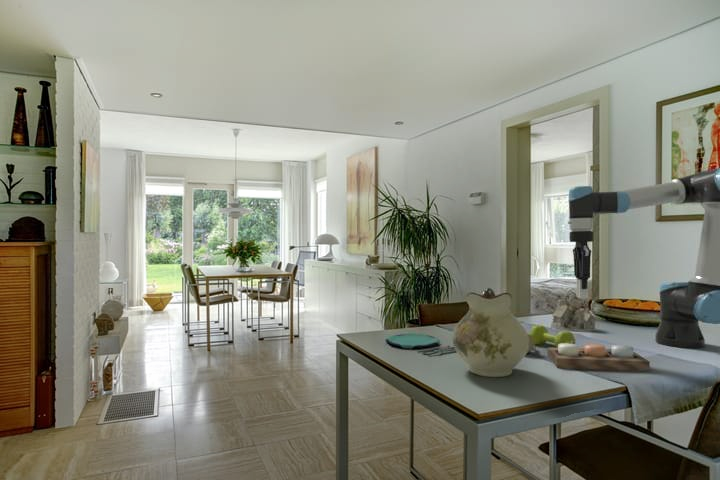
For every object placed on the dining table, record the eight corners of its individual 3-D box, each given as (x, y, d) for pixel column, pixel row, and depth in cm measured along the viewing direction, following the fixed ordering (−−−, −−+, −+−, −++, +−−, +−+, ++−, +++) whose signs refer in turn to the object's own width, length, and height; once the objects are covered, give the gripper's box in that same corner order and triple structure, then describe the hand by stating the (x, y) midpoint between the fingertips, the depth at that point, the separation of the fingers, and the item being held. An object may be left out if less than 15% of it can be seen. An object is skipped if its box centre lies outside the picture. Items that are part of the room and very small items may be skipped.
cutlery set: (418, 336, 187) (418, 330, 187) (466, 352, 161) (466, 346, 161) (378, 342, 178) (378, 336, 178) (421, 360, 151) (421, 354, 151)
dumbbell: (577, 351, 157) (577, 331, 157) (560, 354, 154) (560, 333, 154) (543, 342, 173) (543, 323, 173) (527, 344, 170) (526, 325, 170)
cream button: (575, 355, 146) (575, 343, 146) (581, 360, 140) (580, 347, 140) (556, 355, 147) (556, 343, 147) (560, 359, 141) (560, 347, 141)
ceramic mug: (519, 355, 153) (519, 333, 153) (502, 350, 160) (502, 329, 161) (542, 352, 158) (542, 330, 158) (524, 347, 165) (524, 326, 165)
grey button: (629, 357, 143) (628, 345, 143) (636, 362, 137) (636, 349, 137) (608, 356, 144) (608, 344, 144) (615, 361, 138) (615, 349, 138)
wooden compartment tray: (631, 359, 146) (630, 350, 146) (649, 371, 133) (649, 361, 133) (547, 356, 152) (547, 347, 152) (557, 367, 138) (557, 358, 138)
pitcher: (484, 386, 121) (483, 295, 121) (436, 365, 142) (436, 288, 143) (546, 376, 130) (545, 291, 130) (492, 358, 151) (491, 285, 152)
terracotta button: (602, 356, 144) (601, 344, 144) (608, 361, 139) (608, 348, 139) (582, 355, 146) (582, 343, 146) (587, 360, 140) (587, 348, 140)
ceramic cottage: (545, 325, 204) (547, 293, 203) (579, 325, 206) (581, 293, 205) (565, 334, 188) (567, 300, 188) (601, 334, 190) (603, 300, 189)
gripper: (564, 231, 163) (565, 294, 163) (575, 230, 148) (577, 300, 148) (586, 230, 162) (587, 295, 162) (600, 230, 147) (601, 300, 146)
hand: (582, 297), depth 155 cm, fingers open, 3 cm apart
